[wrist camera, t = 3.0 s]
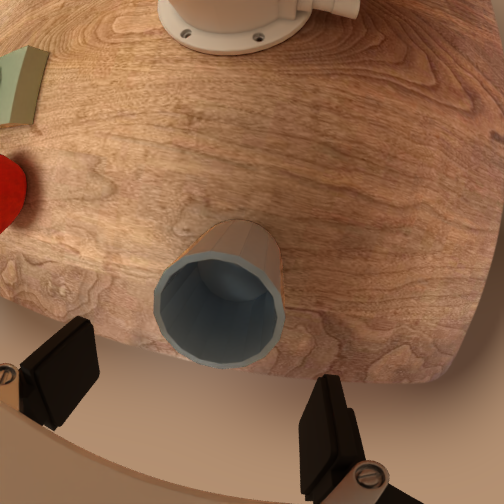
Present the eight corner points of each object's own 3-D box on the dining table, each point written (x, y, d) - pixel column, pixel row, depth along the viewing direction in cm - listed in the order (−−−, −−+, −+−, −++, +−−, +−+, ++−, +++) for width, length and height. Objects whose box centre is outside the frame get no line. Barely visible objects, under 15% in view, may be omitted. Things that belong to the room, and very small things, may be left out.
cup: (290, 228, 21) (298, 267, 13) (272, 309, 23) (269, 378, 15) (200, 212, 21) (156, 240, 13) (191, 293, 23) (153, 352, 15)
